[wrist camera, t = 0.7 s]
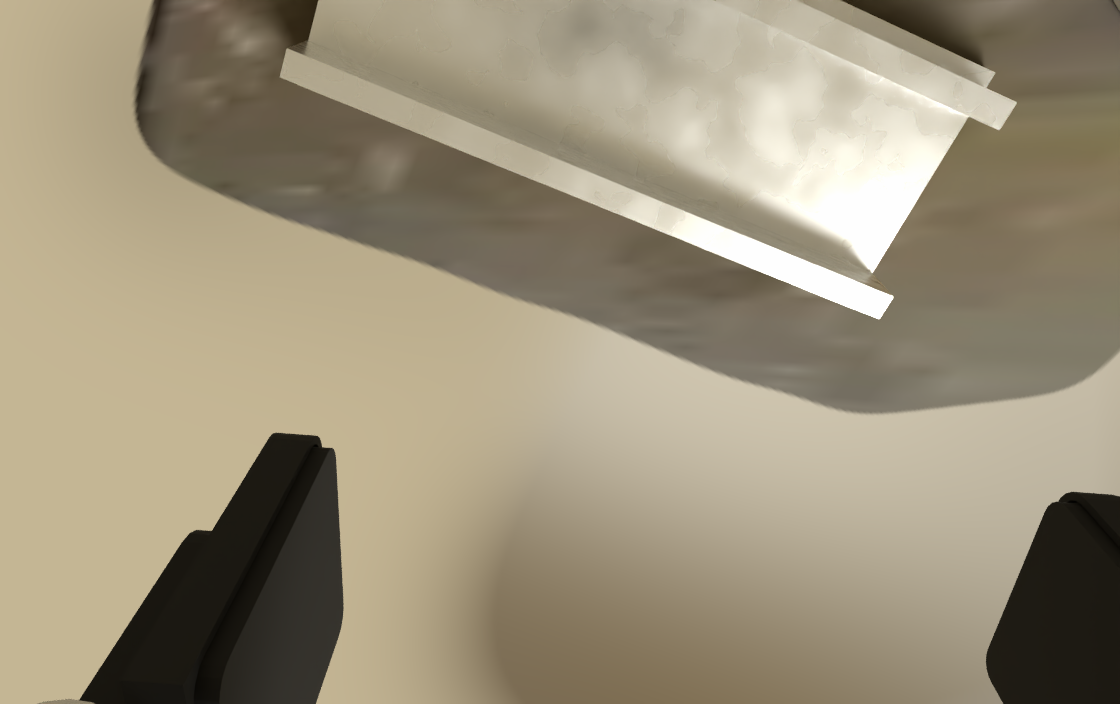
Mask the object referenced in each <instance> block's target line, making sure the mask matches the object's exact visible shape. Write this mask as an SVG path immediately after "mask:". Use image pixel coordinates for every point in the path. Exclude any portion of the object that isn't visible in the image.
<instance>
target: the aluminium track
mask: <svg viewBox="0 0 1120 704" xmlns="http://www.w3.org/2000/svg"><path fill="white" fill-rule="evenodd" d="M994 74H995V72H993V71H991V70H988V69H986V68H984V67H982V66H980V65H978V64H976V63H974V62H971V61H969V60H967V59H965V58H963V57H961V56H959V55H956V54H954V53H952V52H950V51H948V50H946V49H944V48H941V47H939V46H937V45H935V44H933V43H931V42H929V41H927V40H924V39H922V38H920V37H918V36H916V35H914V34H912V33H909V32H907V31H905V30H903V29H901V28H899V27H897V26H894V25H892V24H890V23H888V22H886V21H884V20H882V19H880V18H877V17H875V16H873V15H871V14H869V13H867V12H865V11H862V10H860V9H858V8H856V7H854V6H852V5H850V4H847V3H845V2H843V1H841V0H318V4H317V8H316V12H315V16H314V20H313V24H312V28H311V32H310V36H309V40H307V41H304V42H302V43H299V44H296V45H294V46H291V47H289V48H287V50H286V54H285V58H284V62H283V66H282V70H281V74H280V77H281V78H283V79H286V80H288V81H290V82H293V83H295V84H297V85H299V86H302V87H304V88H307V89H309V90H312V91H314V92H317V93H319V94H322V95H324V96H327V97H329V98H332V99H334V100H337V101H339V102H342V103H344V104H347V105H349V106H351V107H354V108H356V109H359V110H361V111H364V112H366V113H369V114H371V115H374V116H376V117H379V118H381V119H384V120H386V121H389V122H391V123H394V124H396V125H399V126H401V127H403V128H406V129H408V130H411V131H413V132H416V133H418V134H421V135H423V136H426V137H428V138H431V139H433V140H436V141H438V142H441V143H443V144H446V145H448V146H451V147H453V148H456V149H458V150H460V151H463V152H465V153H468V154H470V155H473V156H475V157H478V158H480V159H483V160H485V161H488V162H490V163H493V164H495V165H498V166H500V167H503V168H505V169H508V170H510V171H512V172H515V173H517V174H520V175H522V176H525V177H527V178H530V179H532V180H535V181H537V182H540V183H542V184H545V185H547V186H550V187H552V188H555V189H557V190H560V191H562V192H564V193H567V194H569V195H572V196H574V197H577V198H579V199H582V200H584V201H587V202H589V203H592V204H594V205H597V206H599V207H602V208H604V209H607V210H609V211H612V212H614V213H616V214H619V215H621V216H624V217H626V218H629V219H631V220H634V221H636V222H639V223H641V224H644V225H646V226H649V227H651V228H654V229H656V230H659V231H661V232H664V233H666V234H669V235H671V236H673V237H676V238H678V239H681V240H683V241H686V242H688V243H691V244H693V245H696V246H698V247H701V248H703V249H706V250H708V251H711V252H713V253H716V254H718V255H721V256H723V257H725V258H728V259H730V260H733V261H735V262H738V263H740V264H743V265H745V266H748V267H750V268H753V269H755V270H758V271H760V272H763V273H765V274H768V275H770V276H773V277H775V278H777V279H780V280H782V281H785V282H787V283H790V284H792V285H795V286H797V287H800V288H802V289H805V290H807V291H810V292H812V293H815V294H817V295H820V296H822V297H825V298H827V299H830V300H832V301H834V302H837V303H839V304H842V305H844V306H847V307H849V308H853V309H855V310H858V311H860V312H863V313H865V314H867V315H870V316H872V317H875V318H877V319H880V317H881V316H882V314H883V313H884V311H885V309H886V308H887V306H888V305H889V303H890V302H891V300H892V298H893V296H892V295H891V293H890V292H889V291H888V290H887V289H886V288H885V287H884V286H883V284H882V283H881V282H880V281H879V280H878V279H877V278H876V276H875V275H874V274H873V271H874V269H875V268H876V266H877V264H878V263H879V261H880V260H881V258H882V256H883V255H884V253H885V251H886V250H887V248H888V247H889V245H890V243H891V242H892V240H893V238H894V237H895V235H896V234H897V232H898V230H899V229H900V227H901V225H902V224H903V222H904V221H905V219H906V217H907V216H908V214H909V212H910V211H911V209H912V208H913V206H914V204H915V203H916V201H917V199H918V198H919V196H920V194H921V193H922V191H923V190H924V188H925V186H926V185H927V183H928V181H929V180H930V178H931V177H932V175H933V173H934V172H935V170H936V168H937V167H938V165H939V164H940V162H941V160H942V159H943V157H944V155H945V154H946V152H947V151H948V149H949V147H950V146H951V144H952V142H953V141H954V139H955V138H956V136H957V134H958V133H959V131H960V129H961V128H962V126H963V125H964V123H965V121H966V120H967V118H968V116H969V117H971V118H973V119H975V120H978V121H980V122H982V123H984V124H986V125H989V126H991V127H993V128H995V129H998V130H1000V129H1001V127H1002V125H1003V124H1004V122H1005V121H1006V119H1007V118H1008V116H1009V114H1010V113H1011V111H1012V110H1013V108H1014V107H1015V105H1016V103H1017V102H1015V101H1013V100H1011V99H1008V98H1006V97H1004V96H1002V95H1000V94H998V93H995V92H993V91H991V90H989V89H987V88H986V87H987V86H988V84H989V82H990V81H991V79H992V77H993V76H994Z"/></svg>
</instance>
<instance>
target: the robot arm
mask: <svg viewBox="0 0 1120 704" xmlns="http://www.w3.org/2000/svg"><path fill="white" fill-rule="evenodd" d="M1113 1H1114V3H1115V4H1116V6H1117V8H1118V9H1119V11H1120V0H1113ZM335 456H336V455H335V452H334V449H333V448H323V447H322V444H321V440H320V438H319V437H318V436H312V435H299V434H285V433H273V434H272V435H271V436H270V437H269V439H268V441H267V442H266V444H265V446H264V447H263V449H262V450H261V452H260V454H259V455H258V457H257V458H256V460H255V462H254V463H253V465H252V467H251V468H250V470H249V471H248V473H247V475H246V477H245V478H244V480H243V481H242V483H241V485H240V486H239V488H238V489H237V491H236V493H235V494H234V496H233V497H232V499H231V501H230V502H229V504H228V506H227V507H226V509H225V511H224V512H223V514H222V515H221V517H220V519H219V520H218V522H217V523H216V525H215V527H214V528H213V530H212V531H202V530H196V531H193V532H191V533H190V534H189V535H188V536H187V537H186V538H185V540H184V541H183V542H182V543H181V545H180V546H179V548H178V549H177V551H176V553H175V554H174V556H173V557H172V559H171V560H170V562H169V563H168V565H167V566H166V568H165V569H164V571H163V572H162V574H161V575H160V577H159V579H158V580H157V582H156V583H155V585H154V586H153V588H152V589H151V591H150V592H149V594H148V595H147V597H146V598H145V600H144V601H143V603H142V605H141V606H140V608H139V609H138V611H137V612H136V614H135V615H134V617H133V618H132V620H131V621H130V623H129V625H128V626H127V628H126V629H125V631H124V632H123V634H122V636H121V637H120V638H119V640H118V641H117V643H116V645H115V646H114V647H113V649H112V651H111V652H110V654H109V655H108V657H107V658H106V660H105V661H104V663H103V665H102V666H101V667H100V669H99V670H98V672H97V674H96V675H95V677H94V678H93V680H92V681H91V683H90V684H89V686H88V687H87V689H86V691H85V692H84V694H83V695H82V697H81V698H80V700H72V699H66V700H57V701H47V702H42V703H39V704H316V701H317V698H318V695H319V693H320V690H321V687H322V683H323V680H324V678H325V675H326V672H327V669H328V666H329V663H330V660H331V657H332V654H333V651H334V648H335V646H336V643H337V640H338V636H339V633H340V630H341V624H342V619H343V586H342V568H341V549H340V529H339V510H338V490H337V473H336V472H337V470H336V457H335ZM986 666H987V672H988V675H989V678H990V680H991V682H992V684H993V686H994V687H995V690H996V691H997V693H998V695H999V697H1000V698H1001V700H1002V702H1003V704H1120V497H1119V496H1115V495H1108V494H1095V493H1080V492H1070V493H1066V494H1065V495H1063V496H1062V497H1061V498H1060V500H1059V502H1054V503H1052V504H1050V505H1049V506H1048V507H1047V509H1046V511H1045V513H1044V515H1043V518H1042V520H1041V523H1040V525H1039V528H1038V530H1037V532H1036V535H1035V537H1034V539H1033V542H1032V544H1031V547H1030V549H1029V552H1028V554H1027V556H1026V559H1025V561H1024V564H1023V566H1022V569H1021V571H1020V573H1019V576H1018V578H1017V580H1016V583H1015V585H1014V588H1013V590H1012V593H1011V595H1010V597H1009V600H1008V602H1007V605H1006V607H1005V610H1004V612H1003V614H1002V617H1001V619H1000V621H999V624H998V626H997V629H996V631H995V633H994V636H993V638H992V641H991V643H990V646H989V648H988V651H987V656H986Z"/></svg>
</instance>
